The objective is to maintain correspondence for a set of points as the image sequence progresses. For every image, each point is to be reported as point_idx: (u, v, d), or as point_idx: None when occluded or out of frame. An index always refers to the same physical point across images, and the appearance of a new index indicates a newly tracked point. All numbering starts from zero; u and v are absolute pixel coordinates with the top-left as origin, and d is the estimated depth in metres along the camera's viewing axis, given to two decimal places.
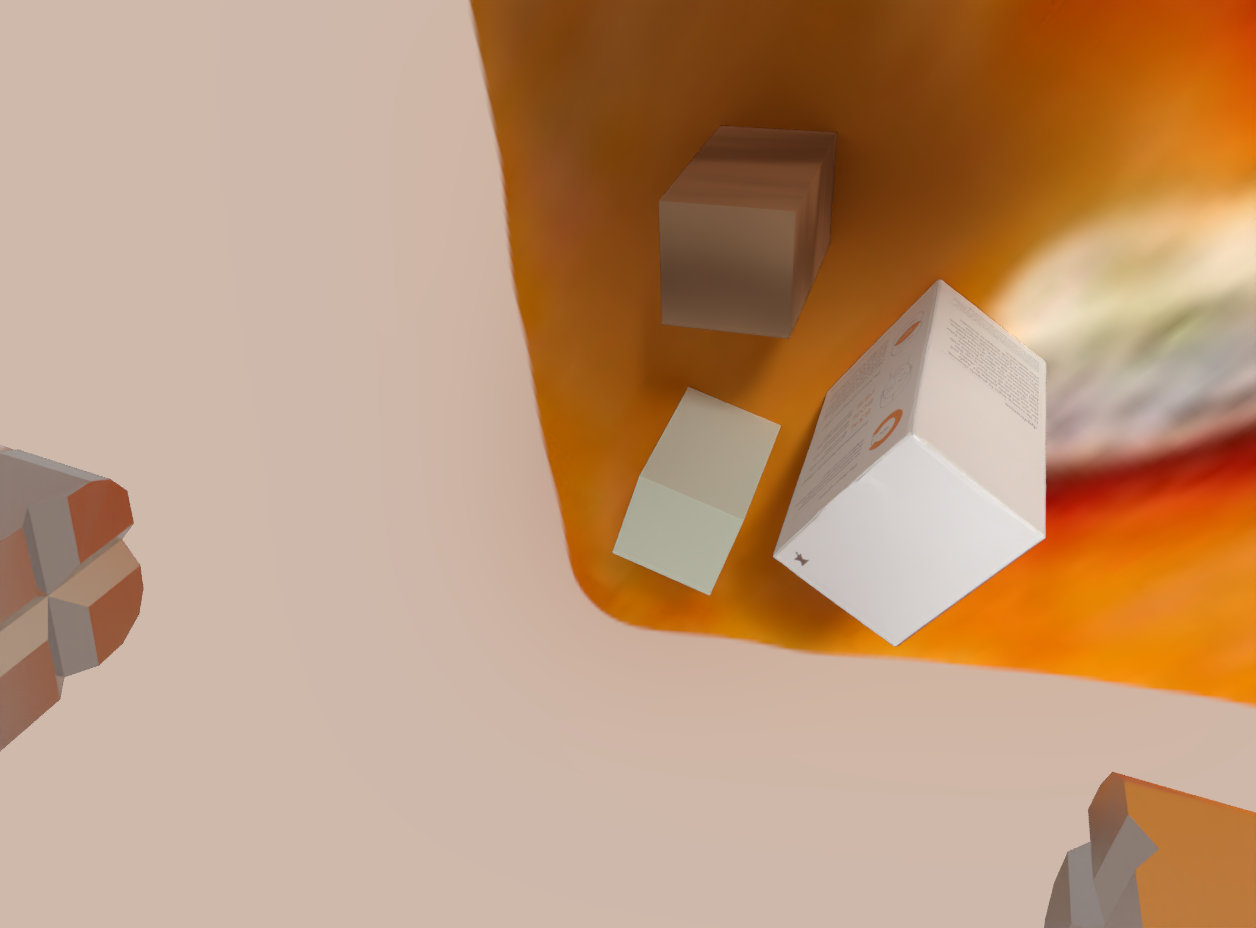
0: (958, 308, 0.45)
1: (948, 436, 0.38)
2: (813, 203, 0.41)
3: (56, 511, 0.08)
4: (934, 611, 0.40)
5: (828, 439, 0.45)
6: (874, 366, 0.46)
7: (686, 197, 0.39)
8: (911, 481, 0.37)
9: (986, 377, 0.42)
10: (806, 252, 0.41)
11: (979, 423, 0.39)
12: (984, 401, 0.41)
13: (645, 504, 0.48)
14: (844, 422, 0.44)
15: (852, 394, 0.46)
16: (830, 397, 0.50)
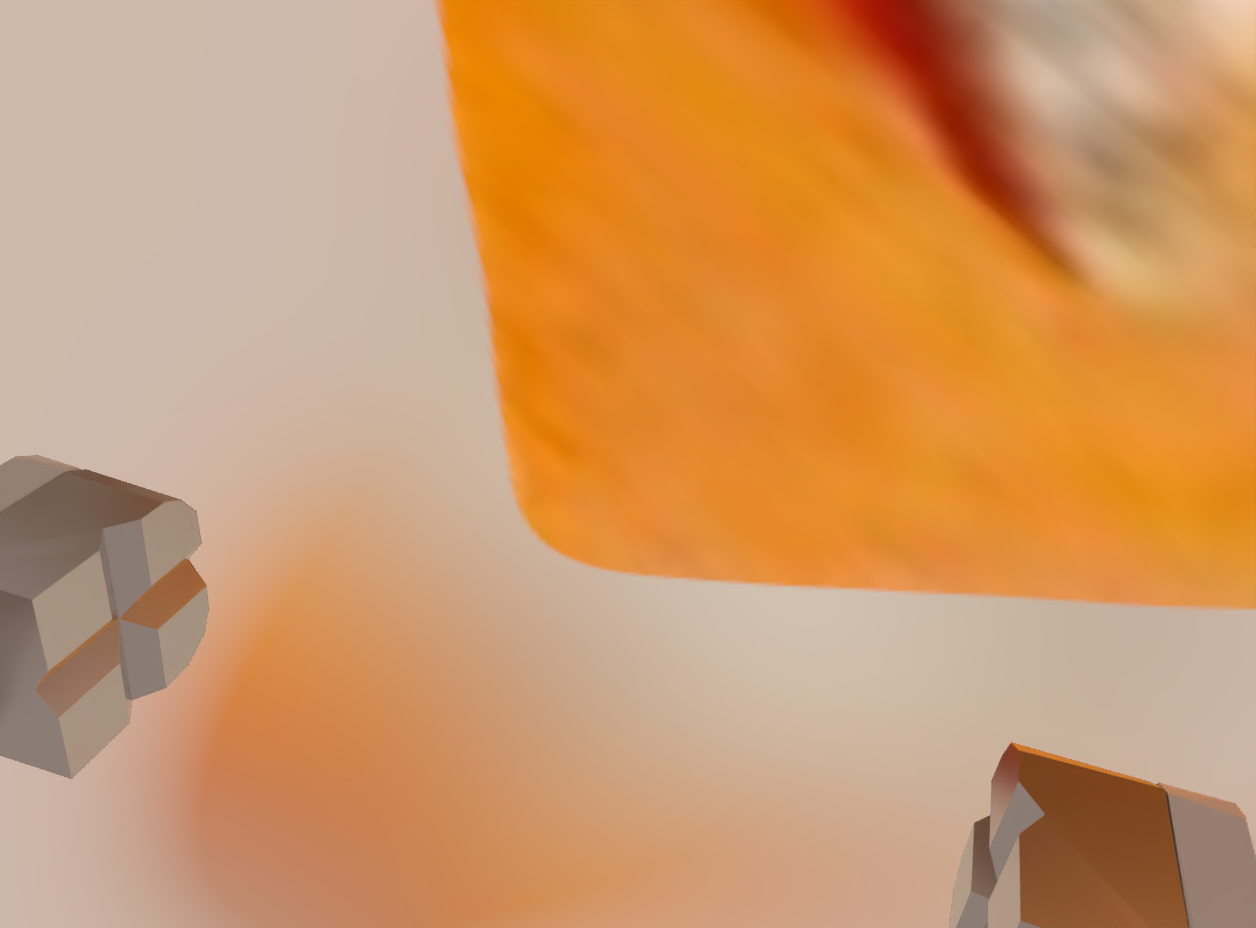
0: None
1: None
2: None
3: (130, 533, 0.08)
4: None
5: None
6: None
7: None
8: None
9: None
10: None
11: None
12: None
13: None
14: None
15: None
16: None
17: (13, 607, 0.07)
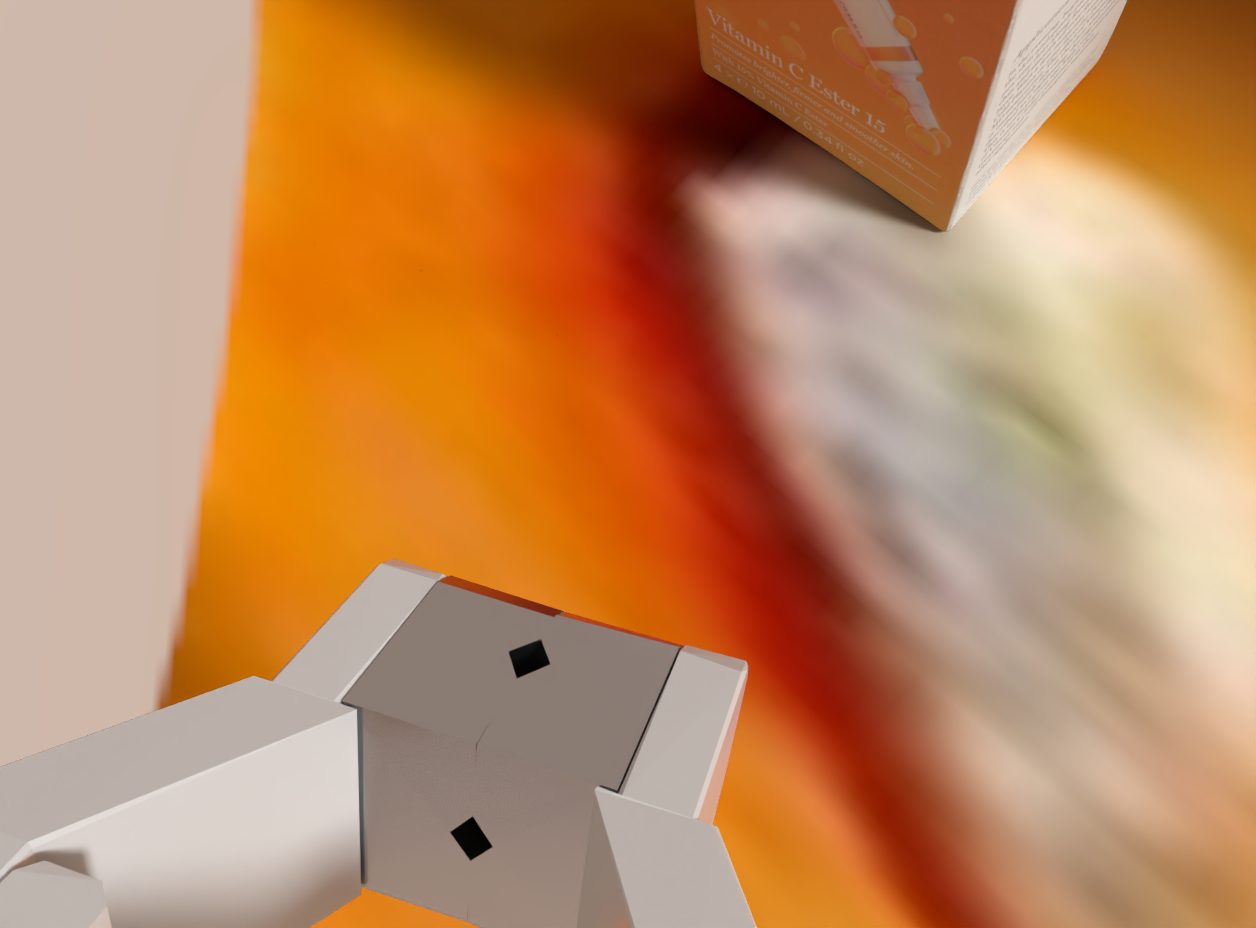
0: (1092, 51, 0.25)
1: None
2: None
3: (529, 654, 0.08)
4: None
5: None
6: None
7: None
8: None
9: None
10: None
11: None
12: None
13: None
14: None
15: None
16: None
17: (449, 750, 0.07)
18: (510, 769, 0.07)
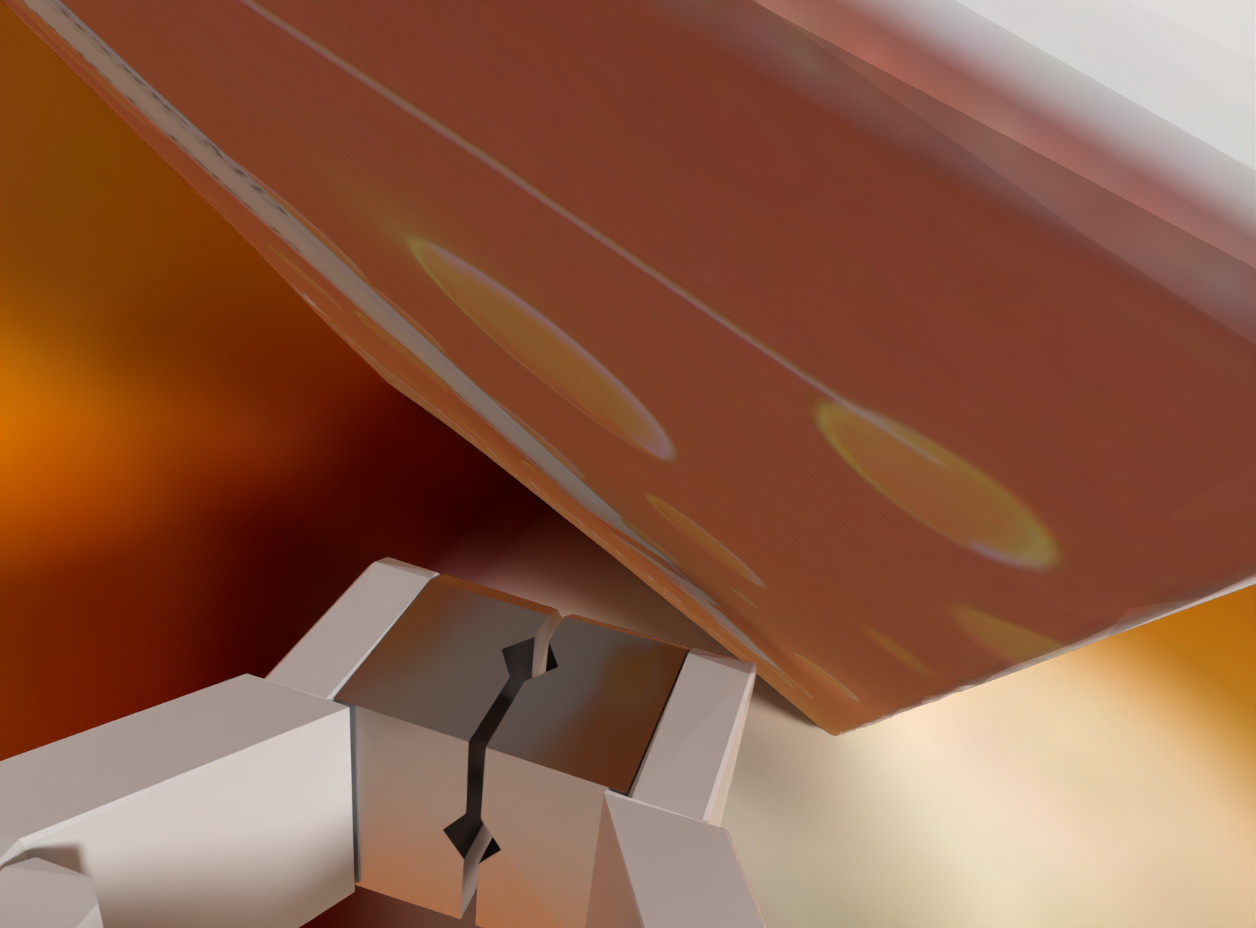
0: None
1: None
2: None
3: (522, 652, 0.08)
4: None
5: None
6: None
7: None
8: None
9: None
10: None
11: None
12: None
13: None
14: None
15: None
16: None
17: (442, 748, 0.07)
18: (519, 772, 0.07)
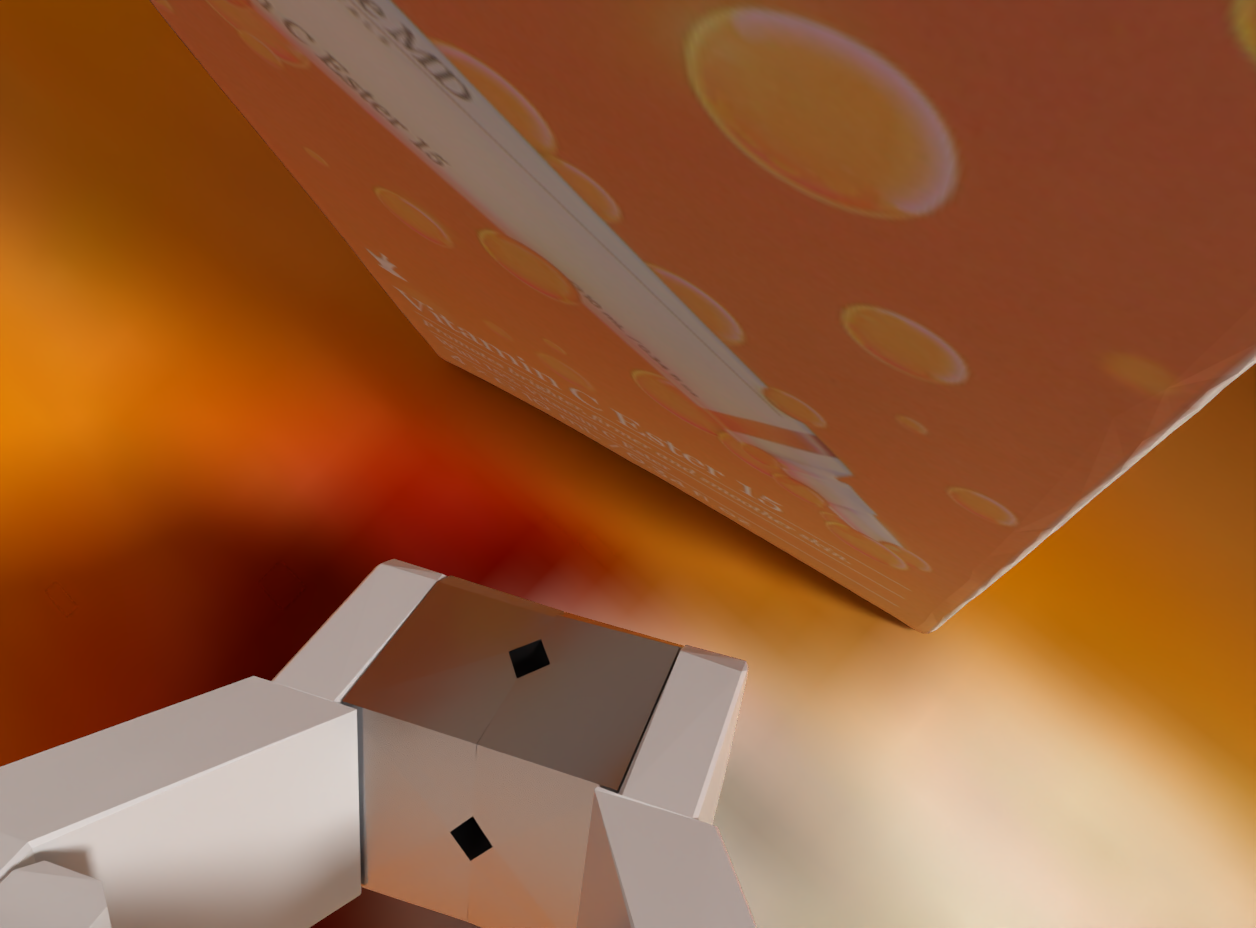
0: None
1: None
2: None
3: (529, 655, 0.08)
4: None
5: None
6: None
7: None
8: None
9: None
10: None
11: None
12: None
13: None
14: None
15: None
16: None
17: (449, 750, 0.07)
18: (510, 769, 0.07)
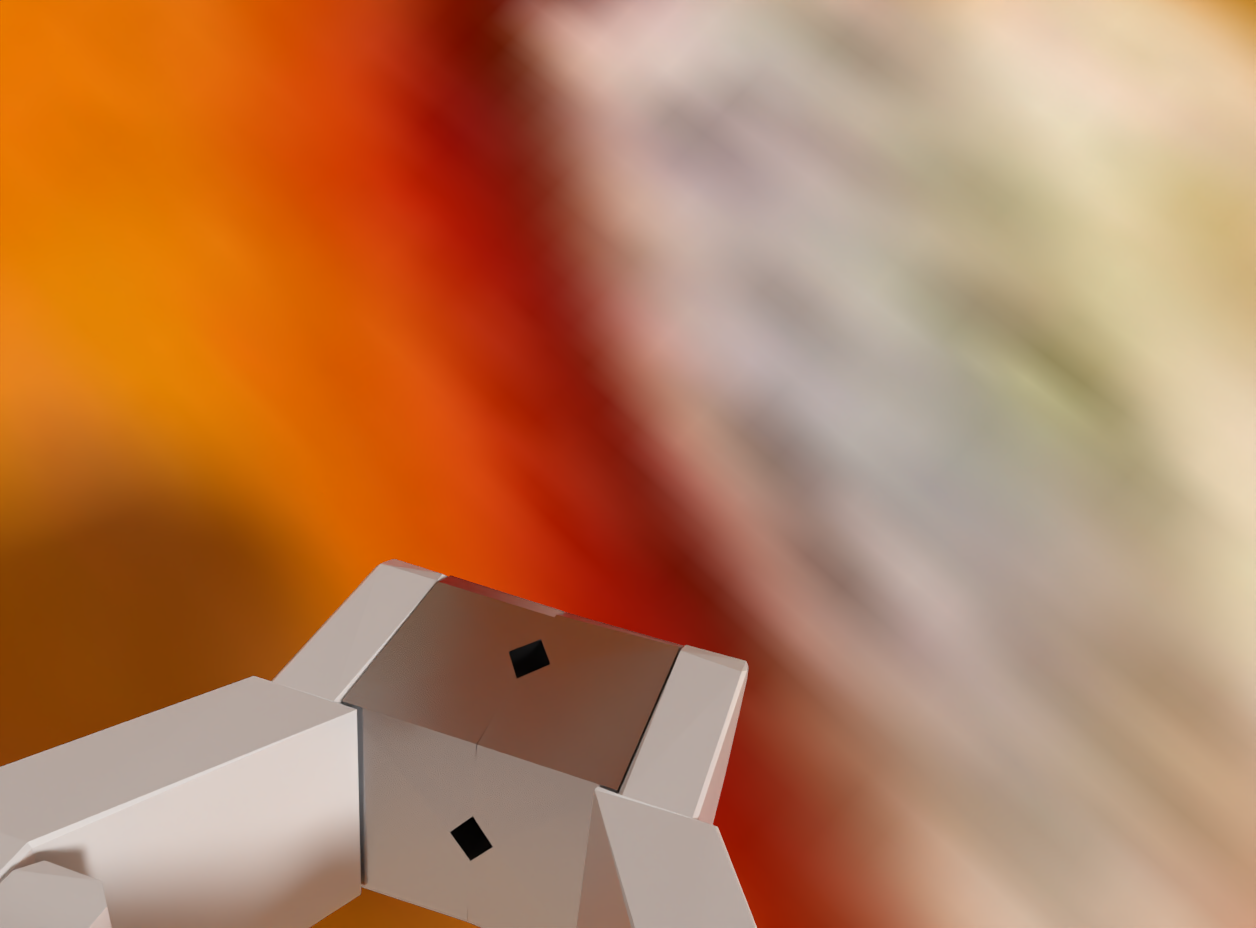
0: None
1: None
2: None
3: (529, 654, 0.08)
4: None
5: None
6: None
7: None
8: None
9: None
10: None
11: None
12: None
13: None
14: None
15: None
16: None
17: (449, 750, 0.07)
18: (510, 769, 0.07)
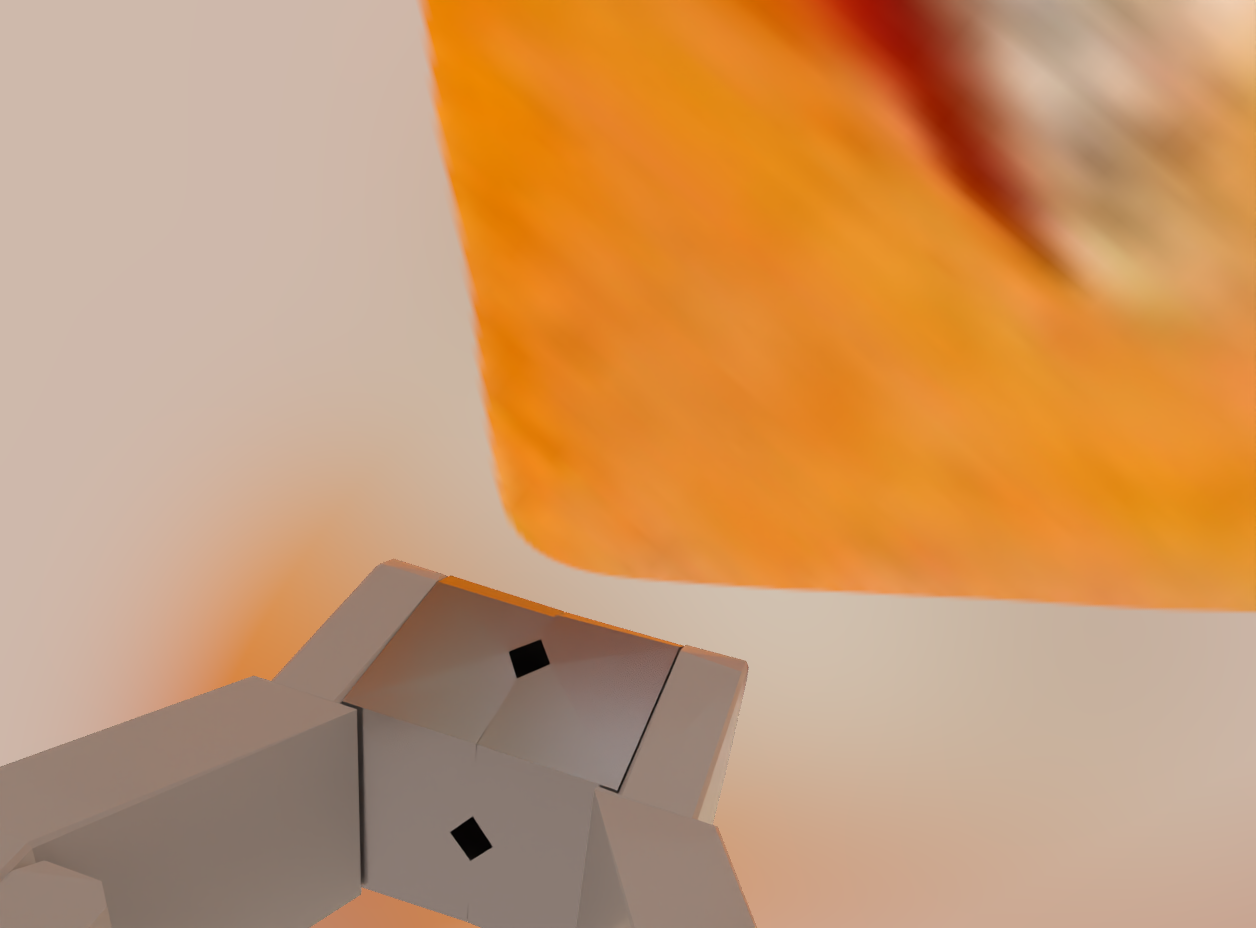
0: None
1: None
2: None
3: (529, 654, 0.08)
4: None
5: None
6: None
7: None
8: None
9: None
10: None
11: None
12: None
13: None
14: None
15: None
16: None
17: (449, 750, 0.07)
18: (510, 769, 0.07)
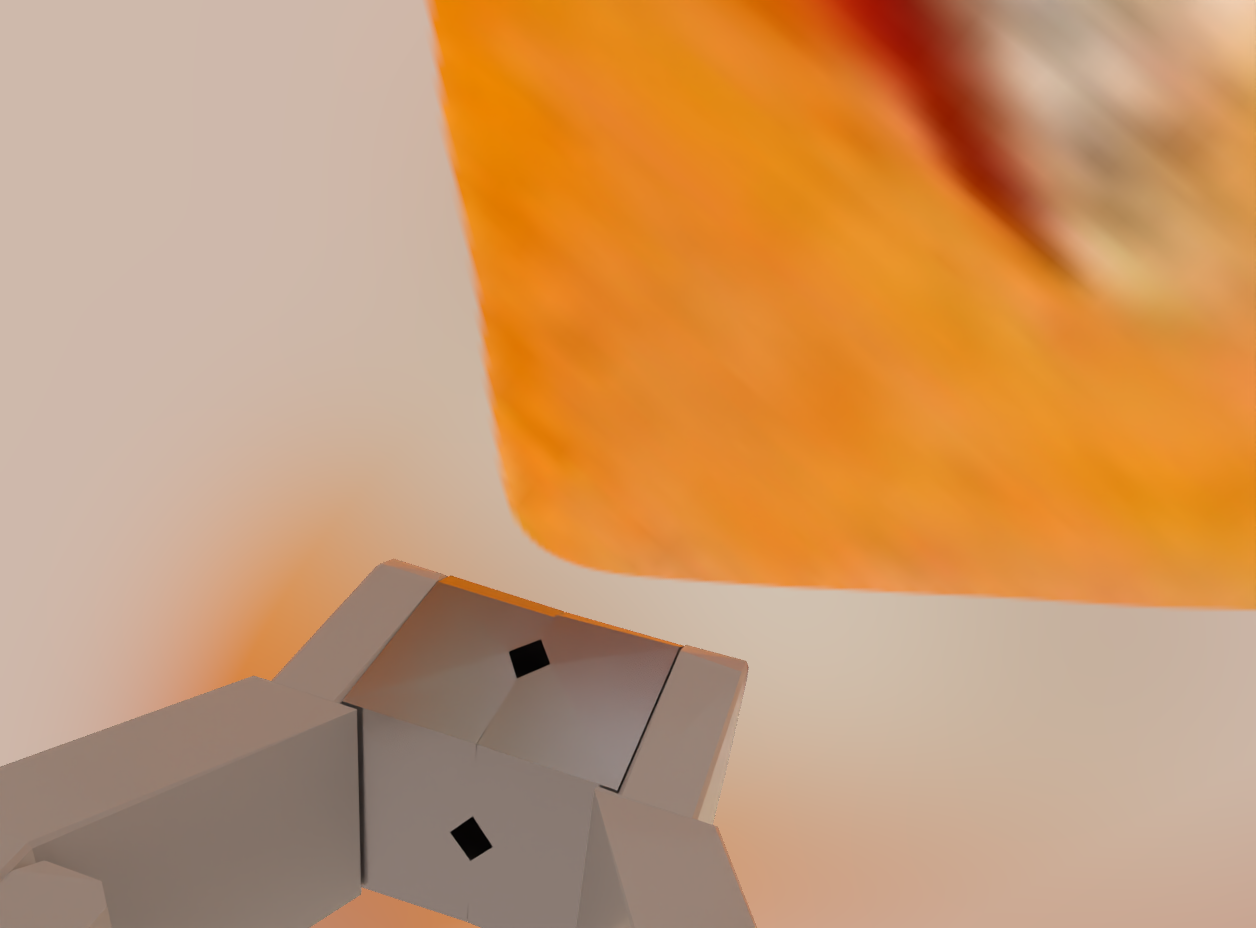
0: None
1: None
2: None
3: (529, 654, 0.08)
4: None
5: None
6: None
7: None
8: None
9: None
10: None
11: None
12: None
13: None
14: None
15: None
16: None
17: (449, 750, 0.07)
18: (510, 769, 0.07)
